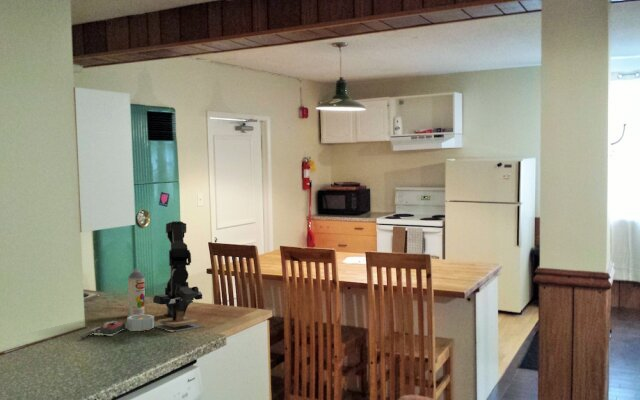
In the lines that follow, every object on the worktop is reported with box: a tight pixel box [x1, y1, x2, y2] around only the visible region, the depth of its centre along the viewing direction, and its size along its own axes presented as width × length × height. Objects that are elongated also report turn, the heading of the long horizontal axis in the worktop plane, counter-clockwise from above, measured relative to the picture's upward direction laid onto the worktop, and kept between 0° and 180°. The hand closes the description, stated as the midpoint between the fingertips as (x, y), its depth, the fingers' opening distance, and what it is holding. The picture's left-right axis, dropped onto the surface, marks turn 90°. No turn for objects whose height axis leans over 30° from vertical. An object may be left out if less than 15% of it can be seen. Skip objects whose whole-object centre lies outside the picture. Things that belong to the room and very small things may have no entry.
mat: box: [154, 323, 203, 332], centre depth 221 cm, size 13×13×1 cm
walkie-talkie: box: [80, 320, 126, 339], centre depth 208 cm, size 9×4×20 cm
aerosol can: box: [126, 268, 146, 318], centre depth 240 cm, size 7×7×20 cm
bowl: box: [126, 314, 155, 330], centre depth 217 cm, size 10×10×4 cm
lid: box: [157, 310, 199, 327], centre depth 221 cm, size 11×11×4 cm
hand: (178, 319), depth 221 cm, fingers closed on lid, 3 cm apart
